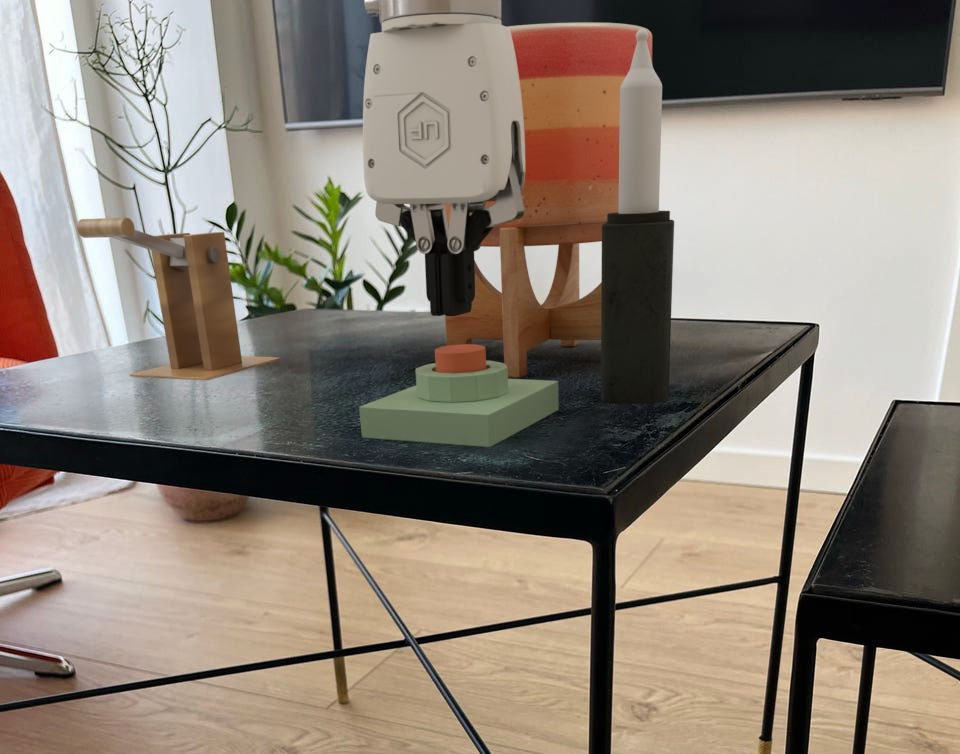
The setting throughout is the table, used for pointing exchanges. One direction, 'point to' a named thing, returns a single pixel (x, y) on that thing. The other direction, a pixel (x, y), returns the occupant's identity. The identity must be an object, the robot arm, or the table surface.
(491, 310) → the planter
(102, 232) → the lever
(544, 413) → the button box
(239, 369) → the bracket
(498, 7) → the robot arm
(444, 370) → the button
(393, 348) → the table surface
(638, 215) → the candle
